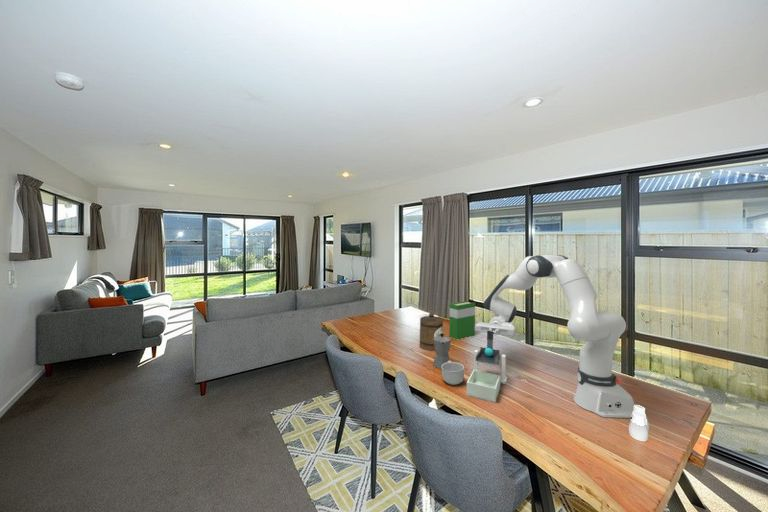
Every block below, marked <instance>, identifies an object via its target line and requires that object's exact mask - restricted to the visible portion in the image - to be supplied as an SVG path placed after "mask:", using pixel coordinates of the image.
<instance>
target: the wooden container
mask: <svg viewBox="0 0 768 512" xmlns="http://www.w3.org/2000/svg"><path fill="white" fill-rule="evenodd" d="M419 323H420V325H419V347H420V349H423V350H426V351H435V346H434V338H435V337H438V336H439V335H440V334H444V319H443V318H442V317H440V316H435V314H434V313H433V312H430V313H428V316H421V317H420V319H419Z"/></svg>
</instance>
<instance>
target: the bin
mask: <svg viewBox="0 0 768 512" xmlns="http://www.w3.org/2000/svg"><path fill="white" fill-rule="evenodd" d="M482 371H483V370H478V371H477V370H474V369H473V370H472V372H471V373H470V376H468V377H469V378H468V379H467V381H466V396H468V397H472V398H476V399H480V400H484V401H487V402H492V403H497V399H498V395H499V392H500V389H501V383H500V375H501V374H498V375H497V373H493V374H492V372H488V373H487V371H483V372H482Z"/></svg>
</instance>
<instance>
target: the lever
mask: <svg viewBox="0 0 768 512" xmlns="http://www.w3.org/2000/svg"><path fill="white" fill-rule="evenodd" d="M486 333H487V334H486V338H487V339H486V341H487V342H486V347H482V346H481V347H480V349H479V350H478V354H477V355H476V360H475V361H478V363H479V362H480V363H484V364H485V363H486V364H489V365H491V364H492V365H497V366H498V365H499V364H500V361H501V359H502V356H501V354H500V349H494V334H493V331H487V332H486ZM486 348H491V349H492V350H493V355H492V356H487V355H486V354H485V349H486Z"/></svg>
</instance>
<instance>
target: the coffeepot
mask: <svg viewBox="0 0 768 512" xmlns="http://www.w3.org/2000/svg"><path fill="white" fill-rule="evenodd" d="M451 339H452V338H451V337H449V336H448V337H447V336H444V333H443V334H440V335H439V336H438V337H435V338H434V346H435V350H434V351H435V354H434V360H433V367H435V368H436V369H438V370H439V369H440V370H442V368H441V366H442V364H444V363H446V362H448V361H451V360H450V355H449V351H450V346H451Z"/></svg>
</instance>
